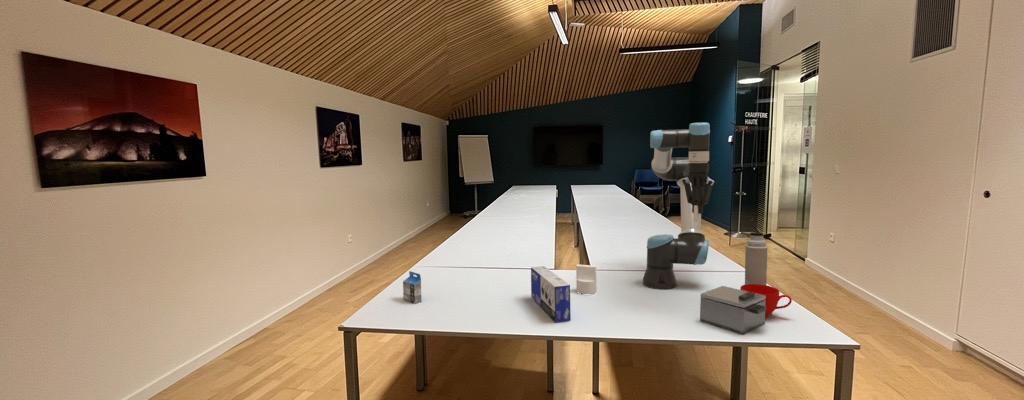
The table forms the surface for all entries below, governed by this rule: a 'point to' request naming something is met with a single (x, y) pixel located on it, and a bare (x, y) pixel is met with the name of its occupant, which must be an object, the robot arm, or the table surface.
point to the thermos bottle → (756, 260)
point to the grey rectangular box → (732, 315)
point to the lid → (733, 296)
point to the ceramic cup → (767, 296)
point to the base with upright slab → (586, 279)
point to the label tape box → (412, 288)
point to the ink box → (551, 293)
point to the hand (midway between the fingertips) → (697, 221)
